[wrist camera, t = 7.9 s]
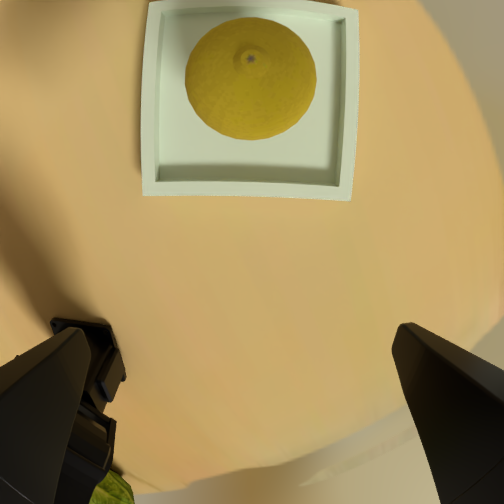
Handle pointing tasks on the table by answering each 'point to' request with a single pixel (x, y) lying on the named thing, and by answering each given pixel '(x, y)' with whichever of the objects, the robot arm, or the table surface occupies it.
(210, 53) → the lemon
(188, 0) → the dish
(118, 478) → the lettuce
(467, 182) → the table surface
